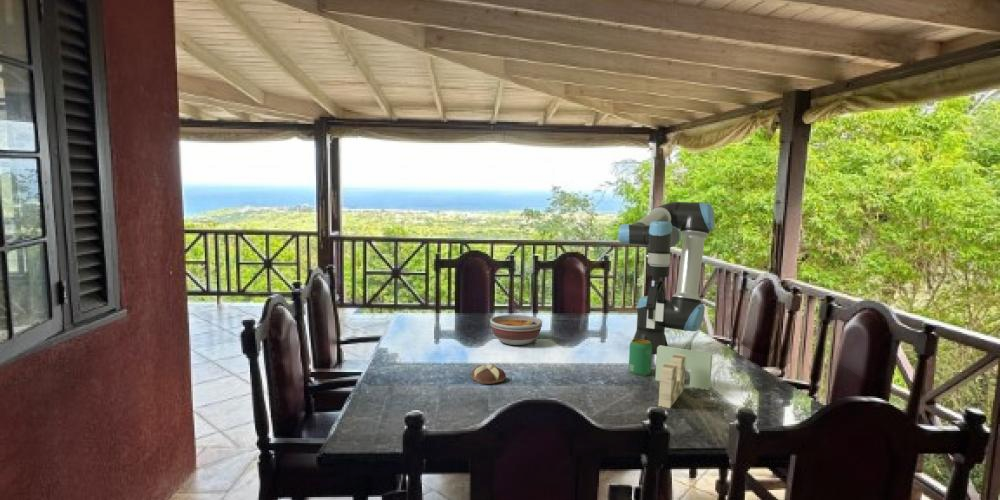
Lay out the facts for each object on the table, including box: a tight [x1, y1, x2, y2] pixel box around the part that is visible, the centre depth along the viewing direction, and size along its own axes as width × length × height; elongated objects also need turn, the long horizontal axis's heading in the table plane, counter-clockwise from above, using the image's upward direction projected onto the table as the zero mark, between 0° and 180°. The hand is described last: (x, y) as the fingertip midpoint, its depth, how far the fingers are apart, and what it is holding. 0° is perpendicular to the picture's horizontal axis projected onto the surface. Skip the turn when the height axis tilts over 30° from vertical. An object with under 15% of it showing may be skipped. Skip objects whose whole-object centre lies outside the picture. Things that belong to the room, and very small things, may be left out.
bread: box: [470, 363, 507, 385], centre depth 190 cm, size 11×11×5 cm
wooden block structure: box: [658, 354, 686, 409], centre depth 178 cm, size 20×4×12 cm, turn 150°
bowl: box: [489, 314, 543, 346], centre depth 240 cm, size 23×23×10 cm
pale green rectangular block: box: [654, 345, 713, 391], centre depth 192 cm, size 18×4×12 cm, turn 60°
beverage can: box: [628, 338, 653, 377], centre depth 202 cm, size 8×8×12 cm
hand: (654, 324), depth 195 cm, fingers open, 13 cm apart
